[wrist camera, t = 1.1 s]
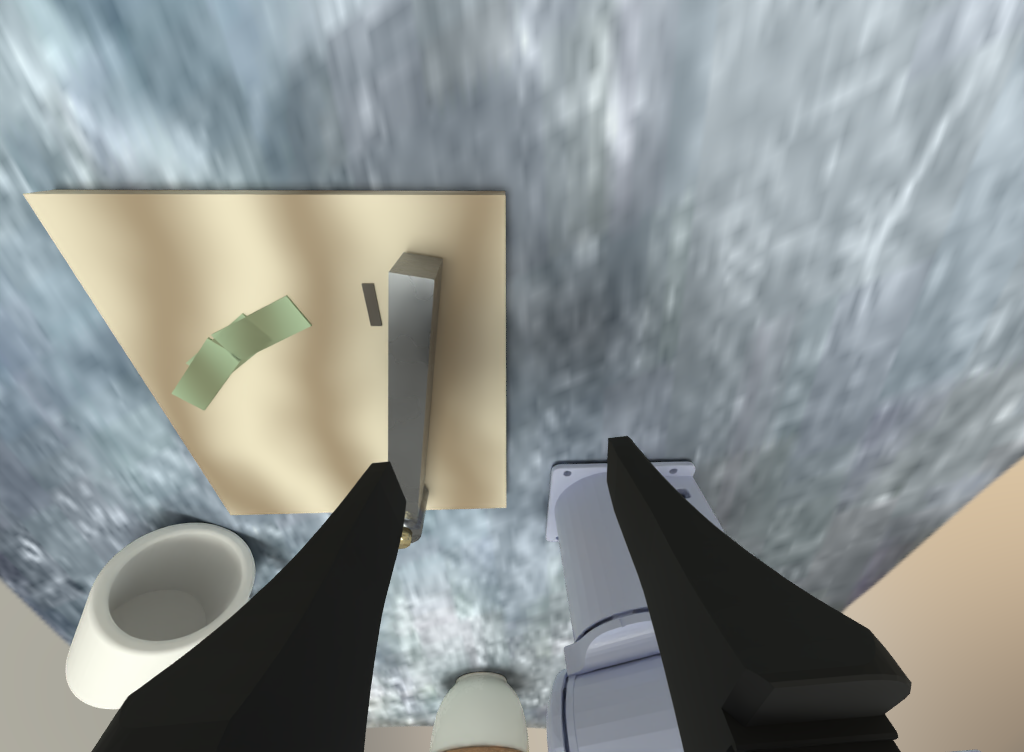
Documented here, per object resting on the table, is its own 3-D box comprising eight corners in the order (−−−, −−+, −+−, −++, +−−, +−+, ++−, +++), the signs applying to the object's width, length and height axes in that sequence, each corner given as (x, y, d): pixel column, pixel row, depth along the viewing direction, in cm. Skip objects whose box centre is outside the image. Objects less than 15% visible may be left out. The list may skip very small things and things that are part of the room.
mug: (130, 570, 30) (23, 698, 23) (159, 504, 25) (40, 636, 19) (282, 611, 34) (230, 728, 27) (328, 560, 30) (280, 684, 23)
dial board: (505, 191, 16) (505, 195, 14) (505, 493, 26) (506, 509, 25) (54, 189, 15) (20, 194, 14) (241, 499, 25) (229, 516, 24)
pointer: (450, 259, 16) (440, 287, 13) (427, 505, 24) (418, 554, 21) (396, 250, 15) (374, 277, 12) (393, 502, 24) (379, 552, 21)
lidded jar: (430, 695, 46) (417, 810, 39) (443, 660, 41) (431, 785, 33) (513, 699, 48) (516, 809, 40) (536, 666, 43) (546, 786, 35)
